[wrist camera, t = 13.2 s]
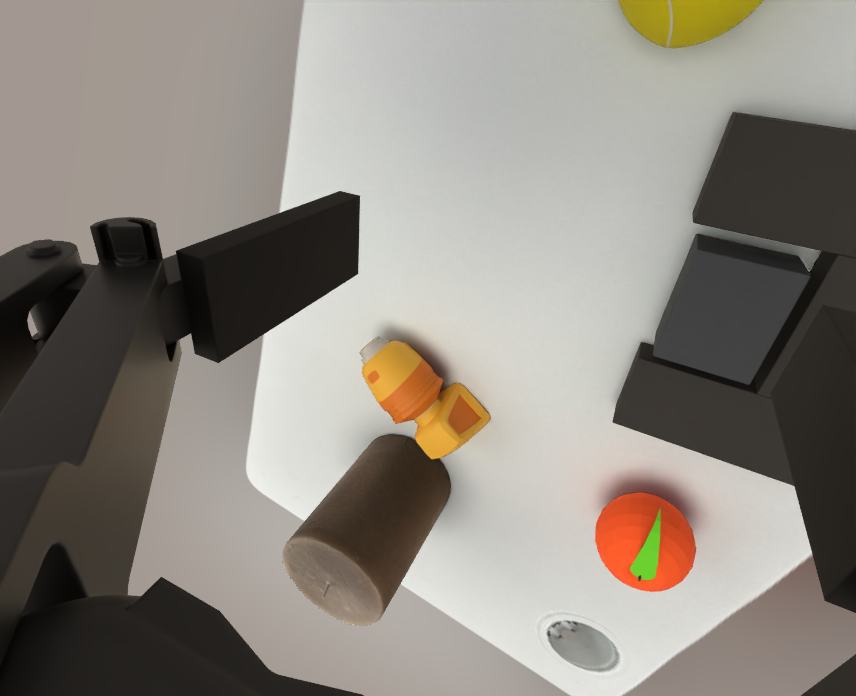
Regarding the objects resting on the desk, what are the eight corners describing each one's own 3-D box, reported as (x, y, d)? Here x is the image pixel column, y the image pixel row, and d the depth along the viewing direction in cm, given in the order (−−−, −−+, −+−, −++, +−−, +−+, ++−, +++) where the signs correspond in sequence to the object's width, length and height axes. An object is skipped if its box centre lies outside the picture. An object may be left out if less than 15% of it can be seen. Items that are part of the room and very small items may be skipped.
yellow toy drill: (368, 346, 45) (454, 443, 45) (333, 374, 41) (429, 482, 41) (402, 313, 42) (495, 419, 42) (368, 340, 37) (473, 457, 38)
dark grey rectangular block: (696, 233, 30) (697, 249, 27) (799, 256, 28) (811, 275, 25) (655, 333, 33) (652, 356, 31) (744, 358, 32) (749, 385, 29)
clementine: (615, 452, 39) (602, 516, 33) (712, 481, 36) (717, 555, 31) (593, 522, 43) (579, 590, 37) (680, 553, 40) (679, 630, 35)
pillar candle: (434, 433, 46) (346, 557, 34) (463, 514, 49) (391, 654, 37) (353, 434, 51) (251, 543, 39) (384, 508, 54) (298, 629, 42)
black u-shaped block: (732, 111, 26) (736, 114, 24) (1070, 162, 22) (1108, 170, 20) (616, 404, 37) (612, 422, 35) (830, 476, 33) (840, 502, 31)
